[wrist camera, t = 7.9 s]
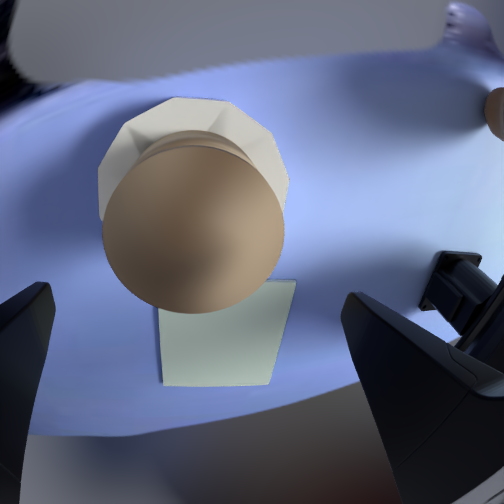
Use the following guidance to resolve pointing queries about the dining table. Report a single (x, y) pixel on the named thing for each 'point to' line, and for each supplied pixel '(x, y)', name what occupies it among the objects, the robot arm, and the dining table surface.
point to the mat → (226, 340)
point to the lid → (193, 225)
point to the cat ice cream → (495, 112)
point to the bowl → (191, 118)
